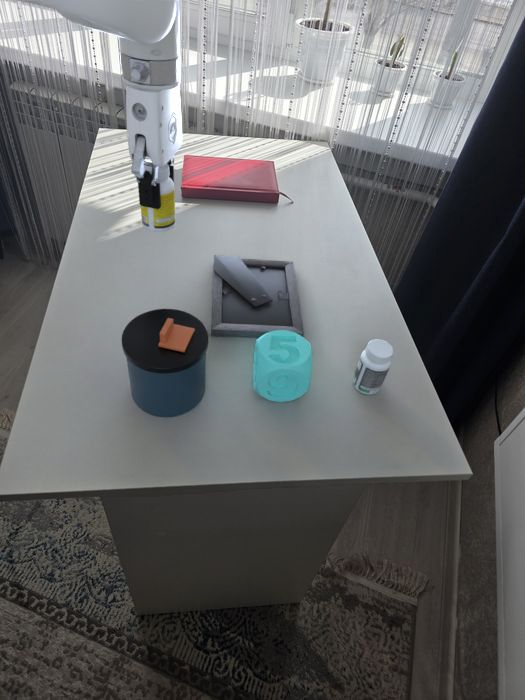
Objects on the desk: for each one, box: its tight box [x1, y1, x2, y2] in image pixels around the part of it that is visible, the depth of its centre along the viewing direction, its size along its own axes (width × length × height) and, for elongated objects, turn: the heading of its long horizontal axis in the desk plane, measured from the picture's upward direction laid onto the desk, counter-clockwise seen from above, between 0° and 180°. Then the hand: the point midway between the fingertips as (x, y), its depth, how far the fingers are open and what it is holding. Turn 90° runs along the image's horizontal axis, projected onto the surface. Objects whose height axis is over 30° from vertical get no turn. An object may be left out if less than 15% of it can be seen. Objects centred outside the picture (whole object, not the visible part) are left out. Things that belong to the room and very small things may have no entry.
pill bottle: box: [351, 338, 395, 395], centre depth 73 cm, size 5×5×8 cm
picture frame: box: [210, 254, 305, 339], centre depth 87 cm, size 16×2×21 cm
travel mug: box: [121, 308, 210, 418], centre depth 67 cm, size 12×12×11 cm
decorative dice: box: [252, 330, 313, 403], centre depth 72 cm, size 8×8×8 cm
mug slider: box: [158, 318, 195, 352], centre depth 63 cm, size 4×4×2 cm
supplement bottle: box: [140, 164, 176, 233], centre depth 74 cm, size 5×5×10 cm
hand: (157, 196), depth 74 cm, fingers closed on supplement bottle, 5 cm apart
